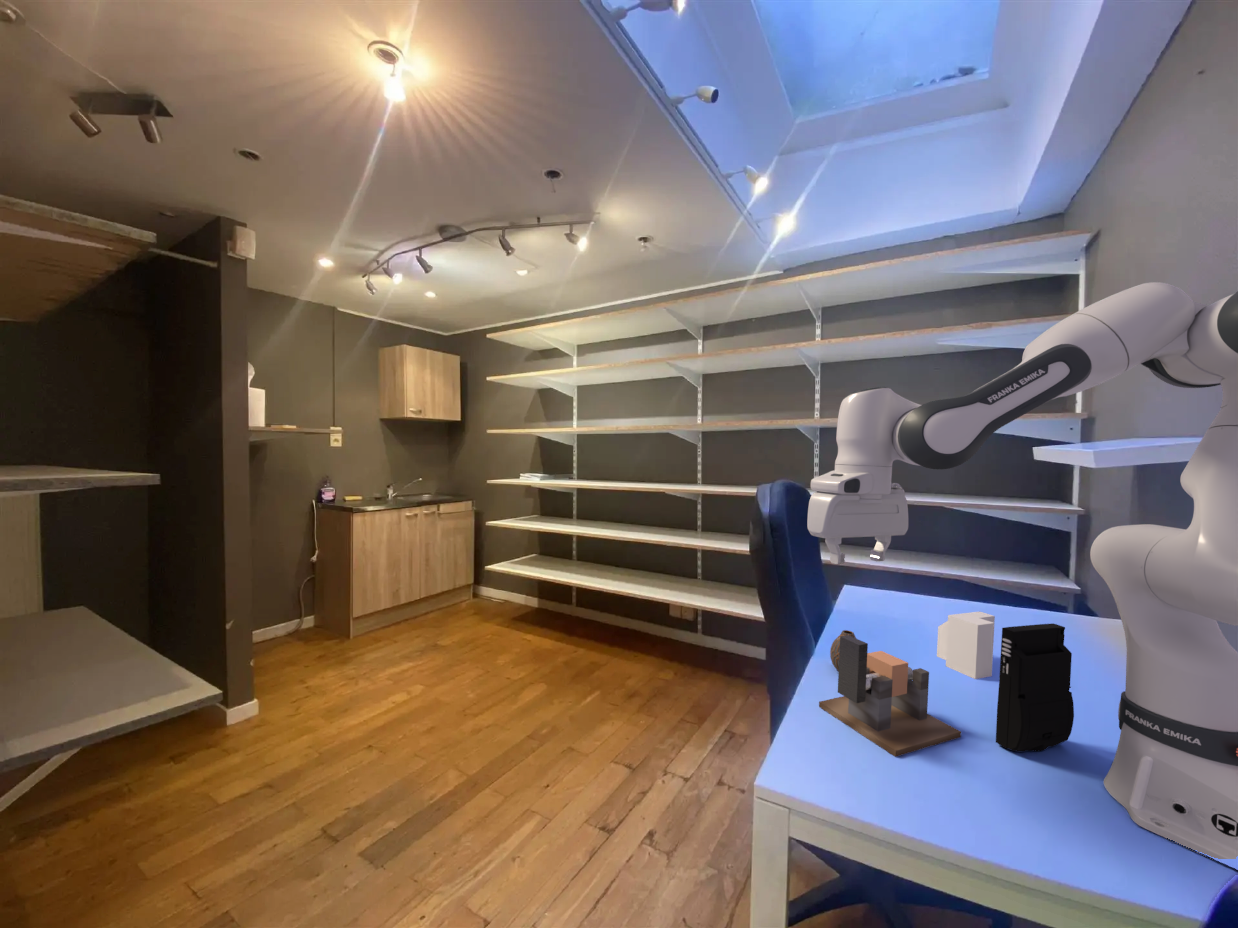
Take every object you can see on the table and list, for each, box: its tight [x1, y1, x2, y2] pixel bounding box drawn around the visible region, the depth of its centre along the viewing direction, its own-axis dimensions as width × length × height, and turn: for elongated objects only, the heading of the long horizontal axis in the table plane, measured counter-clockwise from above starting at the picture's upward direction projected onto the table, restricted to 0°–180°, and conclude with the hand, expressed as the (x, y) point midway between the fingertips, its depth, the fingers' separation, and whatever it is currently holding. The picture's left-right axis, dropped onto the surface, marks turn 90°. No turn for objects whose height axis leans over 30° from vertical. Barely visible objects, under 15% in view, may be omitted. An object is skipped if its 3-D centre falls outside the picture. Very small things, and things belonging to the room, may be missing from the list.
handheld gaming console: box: [995, 623, 1075, 753], centre depth 81 cm, size 12×5×20 cm, turn 105°
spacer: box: [867, 650, 909, 697], centre depth 87 cm, size 5×4×6 cm
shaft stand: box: [818, 667, 962, 758], centre depth 87 cm, size 16×16×10 cm
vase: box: [829, 629, 857, 672], centre depth 108 cm, size 7×7×9 cm
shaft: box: [837, 635, 914, 703], centre depth 86 cm, size 4×15×10 cm, turn 112°
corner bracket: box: [936, 611, 996, 680], centre depth 113 cm, size 11×11×12 cm
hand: (857, 561), depth 84 cm, fingers open, 8 cm apart
